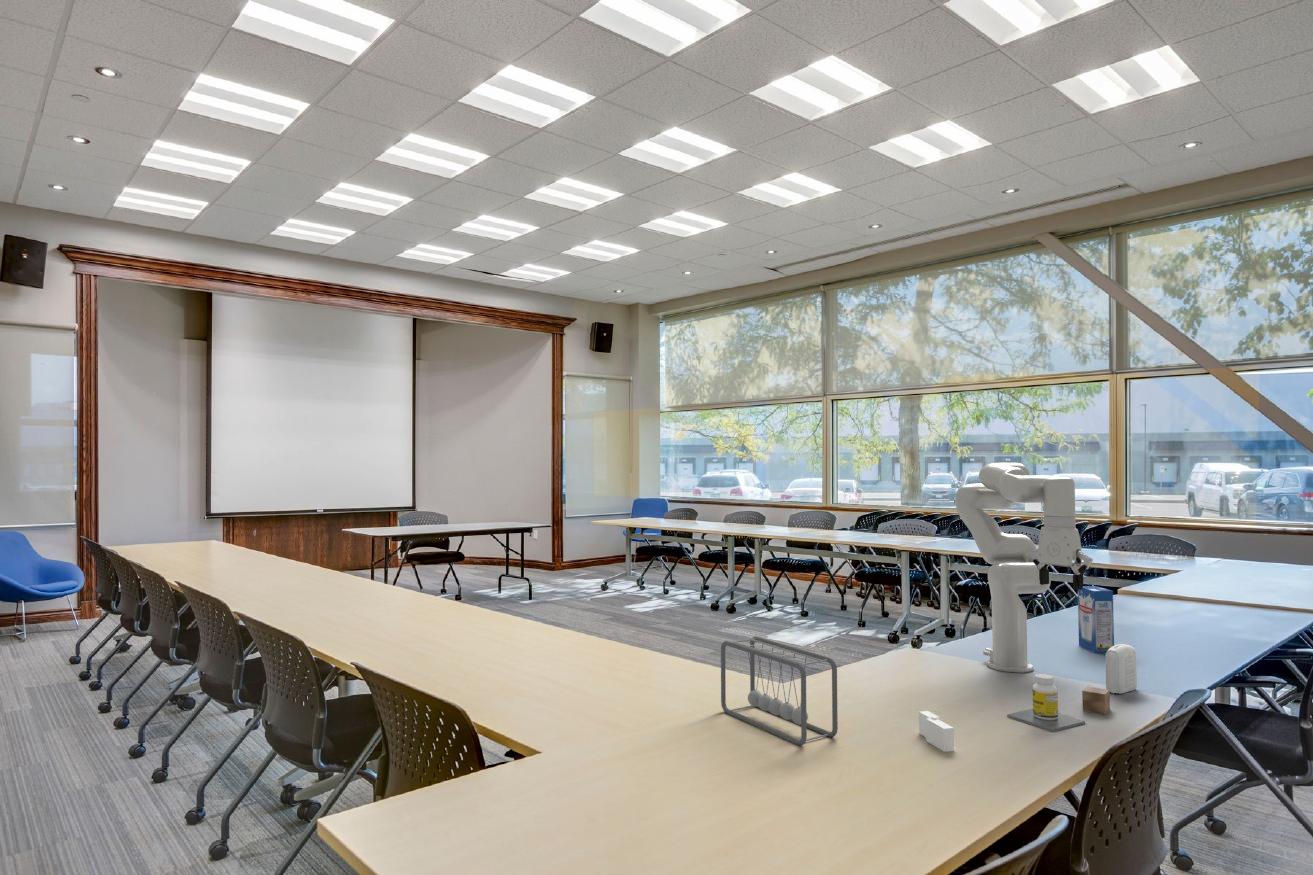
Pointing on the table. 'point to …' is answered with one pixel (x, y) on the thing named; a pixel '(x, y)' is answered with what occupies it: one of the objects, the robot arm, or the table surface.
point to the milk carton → (1095, 619)
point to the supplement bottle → (1045, 698)
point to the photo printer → (1121, 669)
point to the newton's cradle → (775, 704)
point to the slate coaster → (1049, 725)
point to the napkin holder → (936, 731)
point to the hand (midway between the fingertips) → (1060, 586)
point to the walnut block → (1096, 700)
